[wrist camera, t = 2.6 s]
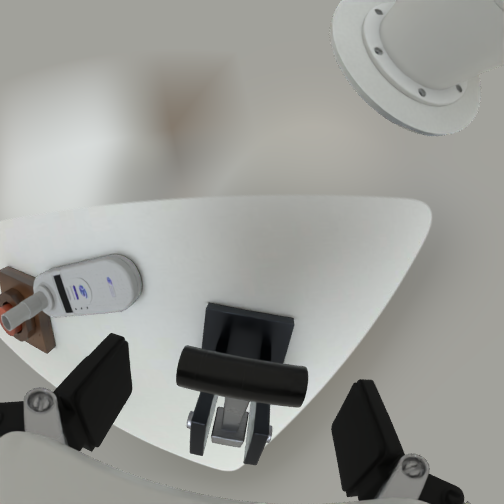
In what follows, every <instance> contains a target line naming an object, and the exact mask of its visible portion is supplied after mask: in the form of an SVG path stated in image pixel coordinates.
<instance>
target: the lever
mask: <svg viewBox="0 0 504 504" xmlns="http://www.w3.org/2000/svg"><path fill="white" fill-rule="evenodd" d="M176 382H177V385H178V386H180V387H184V388H188V389H192V390H196V391H200V392H204V393H209V394H213V395H218V396H223V397H225V403H224V408H223V407H218V408H217V412H216V417H215V421H214V426H213V430H212V435H211V438H212V442H213V443H217V444H222V445H228V446H233V447H241V445H242V444H243V442H244V439H245V433H246V427H247V421H248V415H249V413H248V412H246V409H247V407H248V404H249V402H250V401H251V402H257V403H264V404H271V405H279V406H288V407H300V406H301V405H302V403H303V401H304V399H305V395H306V391H307V386H308V371H307V368H306V367H305V366H297V365H289V364H282V363H275V362H269V361H262V360H256V359H250V358H245V357H239V356H234V355H229V354H224V353H219V352H214V351H210V350H205V349H201V348H197V347H192V346H188V345H187V346H185V347H184V349H183V351H182V353H181V356H180V359H179V363H178V367H177V374H176Z"/></svg>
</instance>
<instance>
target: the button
mask: <svg viewBox="0 0 504 504" xmlns="http://www.w3.org/2000/svg"><path fill="white" fill-rule="evenodd" d="M12 308H13V306H12V305H11V304H10V303H7V304H5V305H3V306H1V307H0V323H1V325H2V327H3V329H4V330H5V331H6V333H8V334H9V335H10V336H13V335H15V334H16V333H18V332H19V331H20V330H21V329H22V324H20V325H19V326H17V327H16V328H14V329H13V330H12V331H8V330H7V329H6V328H5V327H4V325H3V323H2V320H1V315H2V314H4V313H5V312H7V311H9V310H10V309H12Z"/></svg>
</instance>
